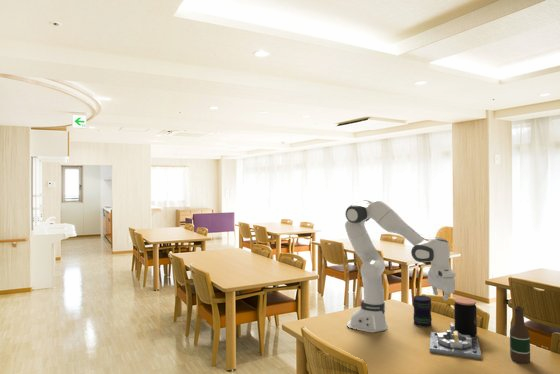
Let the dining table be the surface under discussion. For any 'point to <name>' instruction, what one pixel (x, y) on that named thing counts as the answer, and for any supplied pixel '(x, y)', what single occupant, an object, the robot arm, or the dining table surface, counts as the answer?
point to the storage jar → (422, 311)
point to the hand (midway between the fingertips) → (440, 297)
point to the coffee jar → (465, 316)
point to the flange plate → (464, 352)
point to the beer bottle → (519, 338)
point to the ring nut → (454, 343)
